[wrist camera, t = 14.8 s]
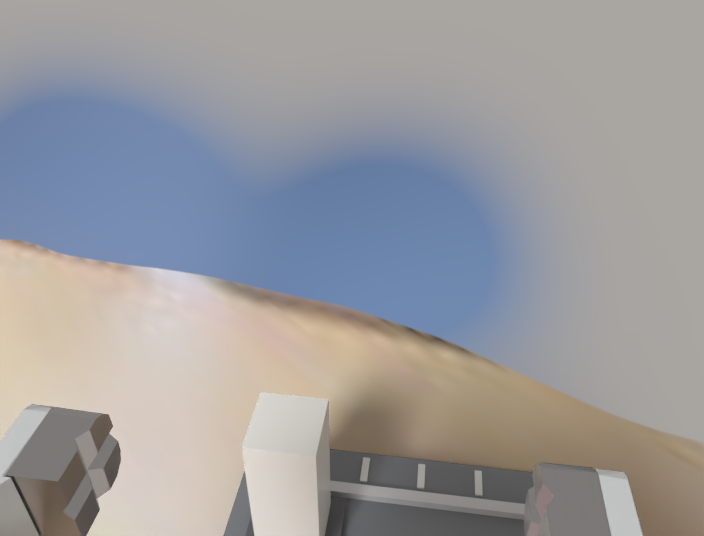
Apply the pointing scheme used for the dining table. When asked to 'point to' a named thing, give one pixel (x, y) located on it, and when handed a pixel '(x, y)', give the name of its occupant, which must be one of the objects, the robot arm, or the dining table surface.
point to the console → (415, 497)
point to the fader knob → (290, 468)
